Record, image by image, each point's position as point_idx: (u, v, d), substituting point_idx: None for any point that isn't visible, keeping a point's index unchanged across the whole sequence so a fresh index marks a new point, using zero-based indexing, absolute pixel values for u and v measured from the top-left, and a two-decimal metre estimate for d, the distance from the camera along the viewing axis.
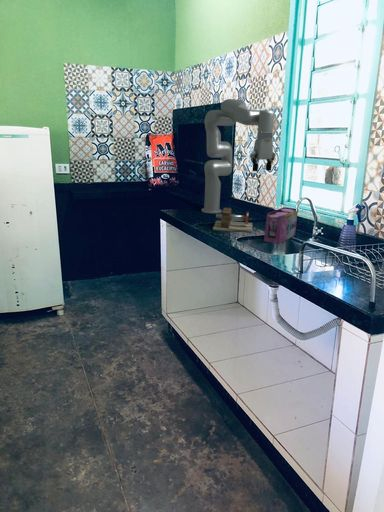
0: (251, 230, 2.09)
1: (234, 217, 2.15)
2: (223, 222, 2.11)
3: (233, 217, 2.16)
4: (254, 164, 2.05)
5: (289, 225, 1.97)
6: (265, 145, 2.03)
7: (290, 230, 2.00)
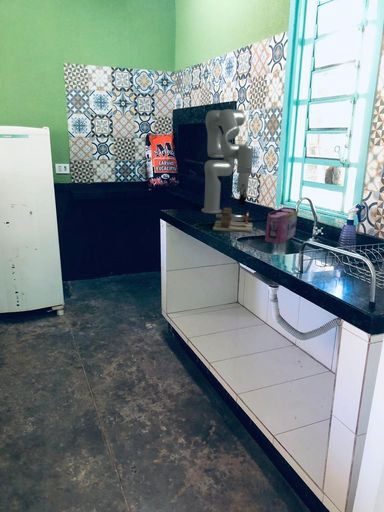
0: (251, 230, 2.09)
1: (234, 217, 2.15)
2: (223, 222, 2.11)
3: (233, 217, 2.16)
4: (242, 198, 2.07)
5: (289, 225, 1.97)
6: (248, 179, 2.08)
7: (290, 230, 2.00)
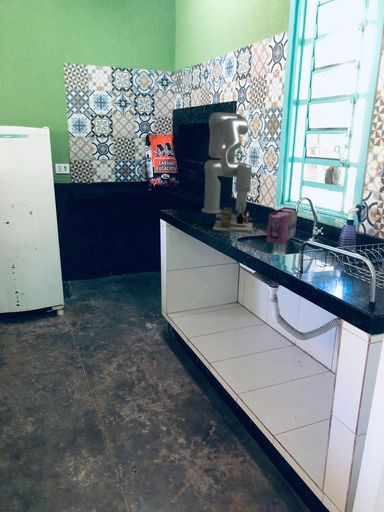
0: (251, 230, 2.09)
1: (234, 217, 2.15)
2: (223, 222, 2.11)
3: (233, 217, 2.16)
4: (240, 218, 2.14)
5: (290, 225, 1.97)
6: (246, 197, 2.11)
7: (291, 230, 2.00)
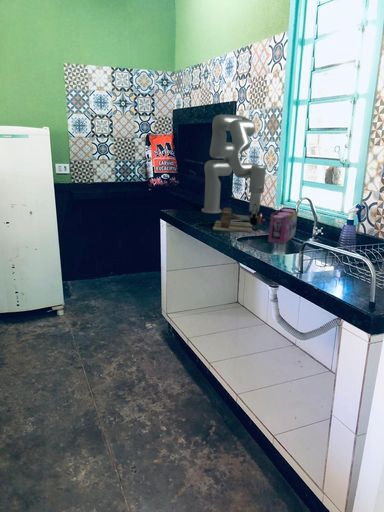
0: (251, 230, 2.09)
1: (247, 218, 2.14)
2: (223, 222, 2.11)
3: (246, 218, 2.15)
4: (254, 218, 2.13)
5: (291, 225, 1.97)
6: (260, 198, 2.10)
7: (292, 230, 2.00)
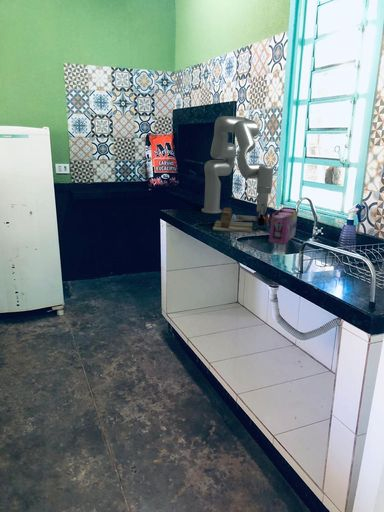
0: (251, 230, 2.09)
1: (255, 219, 2.14)
2: (223, 222, 2.11)
3: (254, 219, 2.14)
4: (261, 219, 2.12)
5: (291, 225, 1.97)
6: None
7: (292, 230, 2.00)
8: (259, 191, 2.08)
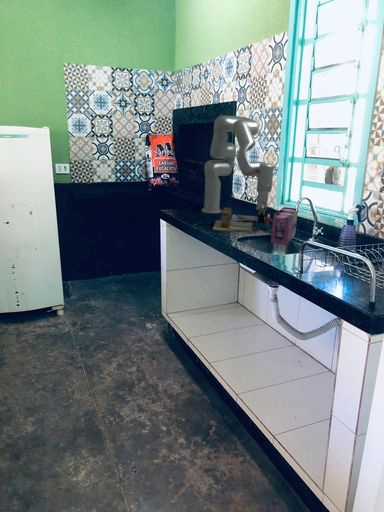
0: (251, 230, 2.09)
1: (255, 219, 2.14)
2: (223, 222, 2.11)
3: (254, 219, 2.14)
4: (261, 216, 2.09)
5: (293, 225, 1.97)
6: None
7: (293, 230, 2.00)
8: (259, 189, 2.07)
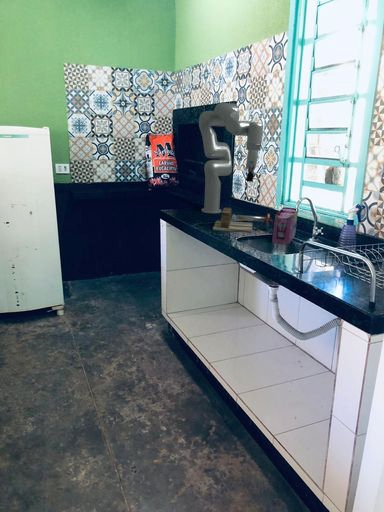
0: (251, 230, 2.09)
1: (255, 219, 2.14)
2: (223, 222, 2.11)
3: (254, 219, 2.14)
4: (250, 175, 2.12)
5: (293, 225, 1.97)
6: None
7: (293, 230, 2.00)
8: (249, 148, 2.10)
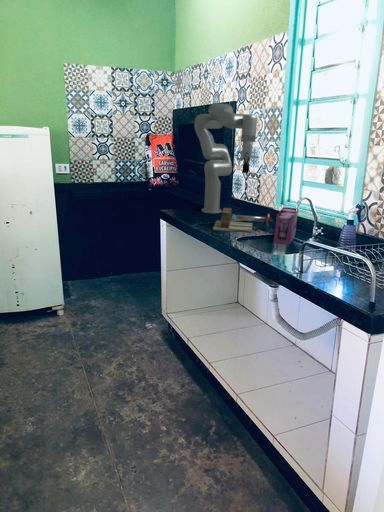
0: (251, 230, 2.09)
1: (255, 219, 2.14)
2: (223, 222, 2.11)
3: (254, 219, 2.14)
4: (246, 166, 2.14)
5: (294, 225, 1.97)
6: None
7: (294, 230, 2.00)
8: (243, 140, 2.13)
